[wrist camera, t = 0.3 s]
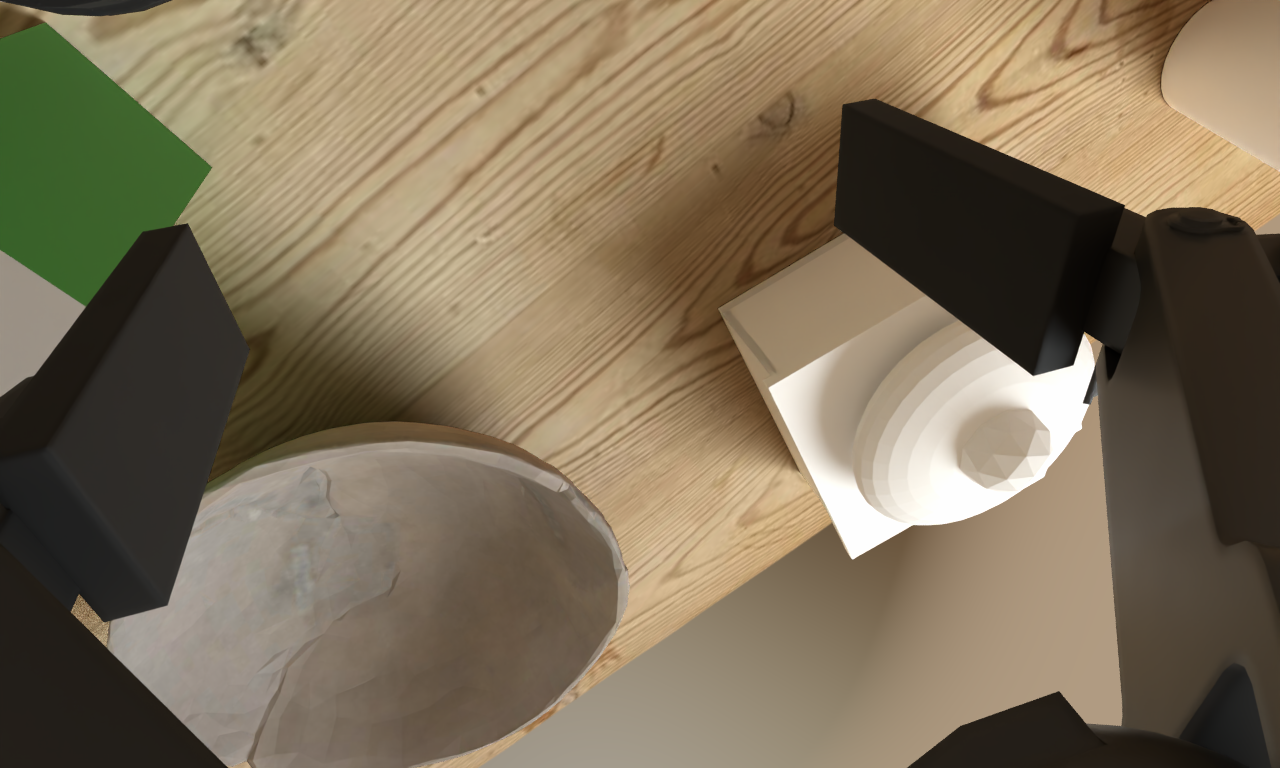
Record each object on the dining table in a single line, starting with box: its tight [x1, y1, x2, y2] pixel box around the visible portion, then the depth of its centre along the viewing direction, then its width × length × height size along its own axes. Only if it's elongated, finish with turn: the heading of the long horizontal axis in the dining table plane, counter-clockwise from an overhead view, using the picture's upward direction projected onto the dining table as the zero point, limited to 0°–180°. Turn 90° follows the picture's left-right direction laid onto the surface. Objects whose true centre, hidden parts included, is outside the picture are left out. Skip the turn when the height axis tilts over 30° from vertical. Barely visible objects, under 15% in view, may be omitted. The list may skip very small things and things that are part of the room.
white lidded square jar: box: [718, 233, 1094, 559], centre depth 43 cm, size 18×18×16 cm
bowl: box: [107, 421, 630, 768], centre depth 43 cm, size 26×26×10 cm
